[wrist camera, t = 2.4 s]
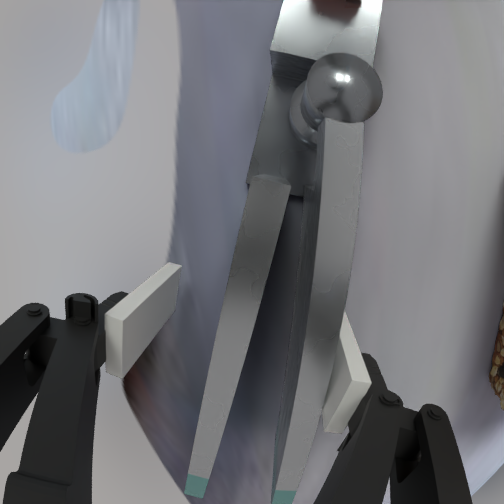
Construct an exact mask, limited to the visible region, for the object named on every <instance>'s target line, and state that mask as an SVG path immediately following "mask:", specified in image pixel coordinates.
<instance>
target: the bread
mask: <svg viewBox="0 0 504 504" xmlns="http://www.w3.org/2000/svg"><path fill="white" fill-rule="evenodd" d="M503 312H504V302H503ZM489 382H490V383H491V387H492V389H493V390H494V391H495V395H497V396H498V397H499V398H500V401H501V402H500V405H501V409H502V410H504V315H503V317H502V319H501V321H500V325H499V331H498V335H497V339H496V343H495V351H494V354H493V358H492V369H491V371H490V373H489Z"/></svg>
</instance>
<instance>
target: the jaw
mask: <svg viewBox="0 0 504 504" xmlns="http://www.w3.org/2000/svg"><path fill="white" fill-rule="evenodd" d="M382 95H383V91H382V85H381V81H380V79H379V77H378V75H377V73H376V72H375V70H374V69H373V68H372V67H371V66H370V65H369V64H368V63H367V62H366V61H364V60H363V59H361V58H359V57H357V56H355V55H352V54H348V53H341V52H340V53H331V54H327V55H325V56H323V57H321V58H319V59H318V60H317V61H316V62H315V63H314V64H313V65H312V67H311V68H310V71H309V73H308V76H307V80H306V84H305V87H304V91H303V95H302V98H301V103H300V108H301V113H302V116H303V118H304V120H305V122H306V123H307V124H308V125H309V126H310V127H311V128H312V129H313V130H315V131H317V132H318V137H317V156H316V173H315V186H307V185H305V189H304V203H303V216H302V229H301V240H300V251H299V262H298V272H297V282H296V291H295V301H294V310H293V318H292V327H291V335H290V343H289V350H288V358H287V365H286V373H285V380H284V387H283V394H282V400H281V407H280V413H279V420H278V426H277V432H276V438H275V451H274V467H273V482H272V495H271V504H292V502H293V499H294V497H295V494H296V491H297V488H298V486H299V483H300V480H301V477H302V474H303V471H304V468H305V465H306V462H307V459H308V456H309V453H310V449H311V446H312V443H313V440H314V436H315V433H316V429H317V426H318V422H319V419H320V415H321V412H322V408H323V404H324V400H325V396H326V393H327V389H328V385H329V380H330V376H331V372H332V368H333V363H334V359H335V354H336V350H337V345H338V340H339V335H340V330H341V325H342V320H343V315H344V309H345V304H346V298H347V292H348V286H349V280H350V273H351V266H352V259H353V252H354V245H355V237H356V228H357V219H358V210H359V199H360V188H361V175H362V160H363V140H364V122H363V121H365V120H367V119H368V118H370V117H371V116H372V115H374V114H375V112H376V111H377V110H378V108H379V106H380V104H381V101H382Z"/></svg>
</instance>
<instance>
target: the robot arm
mask: <svg viewBox="0 0 504 504" xmlns="http://www.w3.org/2000/svg"><path fill="white" fill-rule="evenodd" d="M181 268H182V266H181V265H177V264H174V263H170V262H168V263H167V264H166V265H164V266H163V267H162V268H161V269H159V270H158V271H157V272H156V273H154V274H153V275H152V276H151V277H149V278H148V279H147V280H146V281H144V282H143V283H142V284H141V285H139V286H138V287H137V288H136V289H135V290H133V291H132V292H131V293H130V294H128V293H125V292H118V293H115V294H113V295H111V296H110V297H108V298H107V299H106V300H104V301H103V302H102V303H100V304H99V305H98V300H97V299H96V298H95V297H94V296H92V295H89V294H85V293H76V294H71V295H69V296H67V297H66V298H65V309H66V310H65V311H66V319H65V320H61V319H56V318H52V317H50V314H49V309H48V307H47V306H45V305H43V304H39V303H30V304H26V305H24V306H23V307H21V308H20V309H19V310H18V311H17V312H15V313H14V314H13V315H12V316H11V317H9V318H8V319H7V320H6V321H5V322H4V323H3V324H2V325H0V451H1V450H2V448H3V446H4V445H5V443H6V441H7V440H8V438H9V436H10V435H11V433H12V431H13V430H14V428H15V427H16V425H17V424H18V422H19V420H20V419H21V417H22V416H23V414H24V412H25V411H26V409H27V408H28V406H29V405H30V403H31V402H32V400H33V399H34V397H35V396H36V394H37V393H38V395H37V399H36V402H35V405H34V408H33V412H32V415H31V419H30V423H29V427H28V431H27V435H26V439H25V443H24V448H23V452H22V457H21V461H20V466H19V470H18V471H17V472H11V473H10V474H9V476H8V478H7V481H6V486H5V492H4V498H3V504H92V458H93V457H92V455H93V440H94V425H95V416H96V405H97V398H98V390H99V382H100V367H101V366H102V365H103V363H104V362H106V372H107V373H109V374H112V375H114V376H116V377H119V378H121V379H123V378H124V376H125V375H126V374H127V372H128V371H129V370H130V368H131V367H132V366H133V364H134V363H135V362H136V360H137V359H138V358H139V357H140V355H141V354H142V353H143V351H144V350H145V349H146V347H147V346H148V345H149V343H150V342H151V341H152V340H153V338H154V337H155V336H156V334H157V333H158V332H159V331H160V329H161V328H162V327H163V325H164V324H165V323H166V322H167V320H168V319H169V318H170V316H171V315H172V314H173V313H174V311H175V308H176V300H177V294H178V287H179V280H180V274H181ZM25 353H26V354H25ZM322 416H323V426H324V432H330V433H339V434H342V433H343V431H344V430H345V428H346V427H347V425H348V426H349V433H348V435H347V436H346V438H345V439H344V441H343V442H342V444H341V445H340V447H339V448H338V450H337V451H339V453H338V456H337V458H336V460H335V462H334V464H333V466H332V468H331V471H330V473H329V475H328V477H327V479H326V481H325V483H324V485H323V487H322V489H321V491H320V493H319V494H318V496H317V498H316V500H315V502H314V504H382V502H383V498H384V495H385V491H386V488H387V484H388V480H389V476H390V499H391V504H472V500H471V495H470V491H469V486H468V482H467V478H466V474H465V471H464V467H463V463H462V460H461V456H460V453H459V449H458V446H457V443H456V439H455V436H454V433H453V430H452V427H451V424H450V421H449V418H448V416H447V414H446V412H445V411H444V410H443V409H442V408H441V407H439V406H437V405H433V404H425V405H423V406H422V407H421V409H420V410H419V412H417V411H414V410H411V409H408V408H405V407H403V401H402V400H401V398H400V397H399V396H398V395H397V394H395V393H393V392H391V391H389V390H388V389H387V386H386V384H385V381H384V379H383V377H382V375H381V372H380V369H379V367H378V364H377V362H376V360H375V359H374V358H373V357H372V356H371V355H370V354H366V353H361V352H360V349H359V347H358V344H357V341H356V339H355V336H354V333H353V331H352V328H351V325H350V323H349V320H348V318H347V315H346V313H345V310H344V315H343V320H342V325H341V330H340V335H339V340H338V345H337V350H336V354H335V359H334V363H333V368H332V372H331V376H330V380H329V385H328V389H327V393H326V396H325V400H324V404H323V408H322Z"/></svg>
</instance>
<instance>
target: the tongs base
mask: <svg viewBox="0 0 504 504" xmlns="http://www.w3.org/2000/svg"><path fill="white" fill-rule="evenodd" d="M381 8H382V0H284V1H283V5H282V8H281V12H280V15H279V19H278V22H277V26H276V29H275V33H274V37H273V40H272V44H271V48H270V55H271V64H272V73H273V75H272V78H271V82H270V86H269V90H268V94H267V98H266V102H265V106H264V110H263V114H262V118H261V122H260V126H259V130H258V134H257V138H256V143H255V147H254V151H253V155H252V159H251V163H250V167H249V172H248V176H247V180H246V183H248V184H250V187H249V191H248V196H247V200H246V204H245V208H244V213H243V217H242V221H241V226H240V230H239V234H238V239H237V243H236V247H235V252H234V256H233V261H232V265H231V270H230V274H229V279H228V283H227V287H226V292H225V297H224V301H223V306H222V310H221V315H220V319H219V324H218V329H217V333H216V338H215V343H214V347H213V352H212V357H211V361H210V366H209V371H208V376H207V381H206V385H205V390H204V395H203V400H202V405H201V410H200V415H199V420H198V425H197V430H196V435H195V440H194V445H193V450H192V455H191V460H190V465H189V471H188V476H187V481H186V487H185V492H184V494H187V495H191V496H194V497H198V498H202V499H203V496H204V493H205V490H206V487H207V484H208V481H209V478H210V474H211V471H212V468H213V465H214V461H215V458H216V455H217V452H218V448H219V445H220V442H221V439H222V435H223V432H224V429H225V425H226V422H227V419H228V415H229V412H230V408H231V405H232V402H233V398H234V395H235V391H236V388H237V385H238V381H239V378H240V374H241V371H242V367H243V364H244V360H245V357H246V353H247V350H248V346H249V343H250V339H251V336H252V332H253V328H254V325H255V321H256V318H257V314H258V310H259V307H260V303H261V299H262V296H263V292H264V288H265V285H266V281H267V277H268V274H269V270H270V266H271V262H272V259H273V255H274V251H275V247H276V244H277V240H278V236H279V232H280V228H281V224H282V221H283V217H284V213H285V209H286V205H287V201H288V197H289V194H292V195H296V196H300V197H304V189H305V185H307V186H315V173H316V156H317V137H318V132H317V131H315V130H313V129H312V128H311V127H310V126H309V125H308V124H307V123H306V122H305V120H304V118H303V116H302V113H301V108H300V103H301V98H302V95H303V91H304V87H305V84H306V80H307V76H308V73H309V71H310V68H311V67H312V65H313V64H314V63H315V62H316V61H317V60H318V59H319V58H321V57H323V56H325V55H327V54H331V53H340V52H341V53H348V54H352V55H355V56H357V57H359V58H361V59H363V60H364V61H366V62H367V63H368V64H369V65H370V66H371V67H373V61H374V56H375V49H376V43H377V37H378V30H379V23H380V16H381Z"/></svg>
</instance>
